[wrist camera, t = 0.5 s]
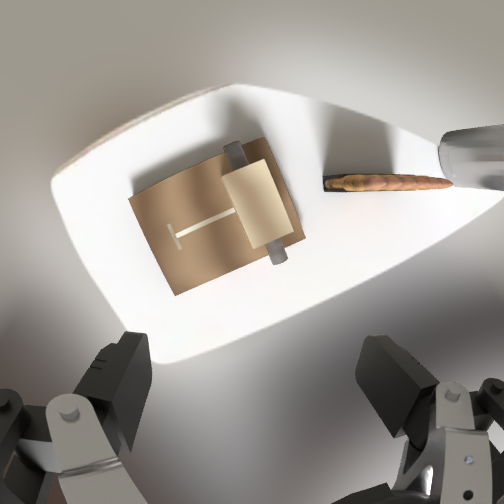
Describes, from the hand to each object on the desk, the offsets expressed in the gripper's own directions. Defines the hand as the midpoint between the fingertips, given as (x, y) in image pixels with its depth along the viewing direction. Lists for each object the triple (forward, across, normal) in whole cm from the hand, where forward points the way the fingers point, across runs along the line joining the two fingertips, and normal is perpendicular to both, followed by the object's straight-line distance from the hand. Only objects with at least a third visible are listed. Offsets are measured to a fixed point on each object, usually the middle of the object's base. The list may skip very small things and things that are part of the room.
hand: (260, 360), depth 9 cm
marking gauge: (+21, -1, -5) cm, 21 cm away
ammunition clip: (+23, -15, -8) cm, 29 cm away
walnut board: (+23, +2, -3) cm, 23 cm away
